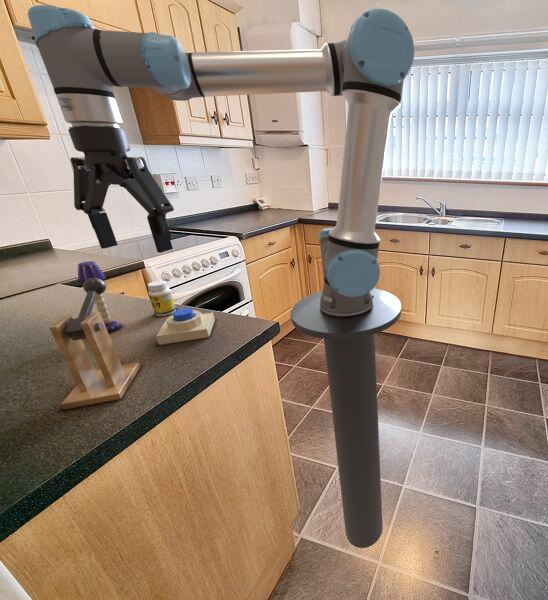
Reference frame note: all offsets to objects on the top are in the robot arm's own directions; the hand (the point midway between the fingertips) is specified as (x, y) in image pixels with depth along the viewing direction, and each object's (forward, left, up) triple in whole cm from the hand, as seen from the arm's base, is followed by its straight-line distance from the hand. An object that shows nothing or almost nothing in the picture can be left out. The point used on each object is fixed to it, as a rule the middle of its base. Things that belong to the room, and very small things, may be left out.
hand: (137, 248), depth 65 cm
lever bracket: (+7, +13, -22) cm, 26 cm away
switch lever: (+7, +7, -9) cm, 14 cm away
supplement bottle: (+5, -19, -22) cm, 30 cm away
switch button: (-3, -5, -18) cm, 19 cm away
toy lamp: (+15, -13, -22) cm, 30 cm away
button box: (-3, -5, -22) cm, 23 cm away
